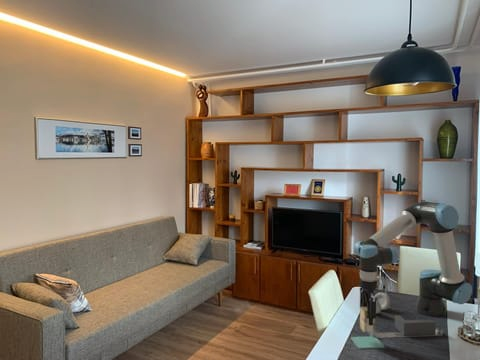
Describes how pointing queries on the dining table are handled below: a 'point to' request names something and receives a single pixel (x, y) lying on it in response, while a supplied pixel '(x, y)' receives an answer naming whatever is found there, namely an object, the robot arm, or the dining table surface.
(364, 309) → the beech block
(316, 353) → the dining table surface
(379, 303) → the headphones
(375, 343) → the pad
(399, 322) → the grey l-shaped block
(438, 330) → the rail
